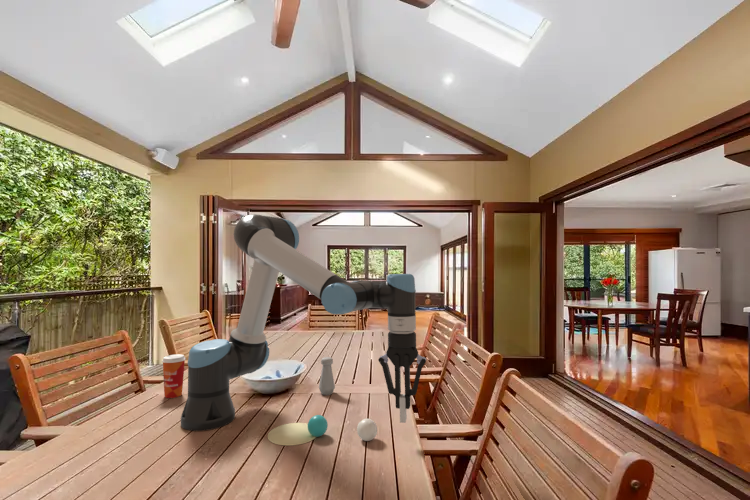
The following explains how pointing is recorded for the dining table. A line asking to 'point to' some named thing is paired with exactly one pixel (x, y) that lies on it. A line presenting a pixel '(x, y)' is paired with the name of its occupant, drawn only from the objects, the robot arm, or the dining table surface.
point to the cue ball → (367, 429)
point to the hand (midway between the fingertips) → (403, 420)
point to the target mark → (290, 434)
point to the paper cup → (173, 375)
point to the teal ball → (317, 425)
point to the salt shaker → (326, 377)
